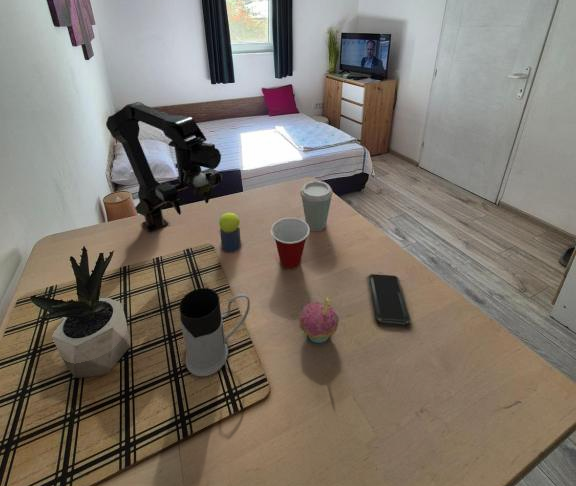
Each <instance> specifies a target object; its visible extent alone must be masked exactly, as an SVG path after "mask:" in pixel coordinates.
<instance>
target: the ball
mask: <svg viewBox="0 0 576 486" xmlns="http://www.w3.org/2000/svg"><path fill="white" fill-rule="evenodd" d="M218 224H219V229H220V228H221V229H222V230H223V231H224V232H227V233H230V232H234V231H236V230H237V228H238V227H239V226H240V219H239V217H238V215H237V214H236V213H234V212H226V213H223V215H221V217H220V218H219V221H218Z"/></svg>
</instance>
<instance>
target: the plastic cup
mask: <svg viewBox="0 0 576 486" xmlns="http://www.w3.org/2000/svg"><path fill="white" fill-rule="evenodd" d="M310 230H311V229H310V228H309V226H308V224H307V223H306V220H303V219H300V218H298V217H292V216H291V217H289V216H288V217H283V218H280V219H279V220H276V221H275V222H274V223H273V224H272V225H271V228H270V233H271V236H272V238H273V239H274V241H275V245H276V249H277V254H278V257H279V262H280V265H281V266H282V267H283V268H285V269H290V270H292V269H295V268H298V267H299V266H300V264H301V261H302V257H303V253H304V248H305V244H306V241H307V238H308V236H309V235H310V232H311V231H310Z"/></svg>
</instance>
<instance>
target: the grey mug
mask: <svg viewBox="0 0 576 486" xmlns="http://www.w3.org/2000/svg"><path fill="white" fill-rule="evenodd" d="M239 298H245V299H246V300H247V305H246V310H245V312H244V314H243V316H242V318H241V319H240V321H239V322H238V323H237V324H236V325H235V326H233V328H232V329H231V330H230V331H229V332H228V333H227V334H226V336H225V330H224V322H223V319H224V318H226V317H228V316H229V315H230V314H231V305H232V304H233V302H234V301H235V300H237V299H239ZM250 308H251V301H250V298H249V296H248V295H247V294H246V293H238V294H235V295H234V296H232V297H231V298H230V300H229V301H228V303H227V312H225V313H222V311H221V302H220V296H219V294H218V292H217V291H215V290H214V289H212V288H208V287H200V288H196V289H195V288H194V289H193V290H191V291H189V292H188V293H186V294H185V295H184V296H183V297H182V298H181V300H180V302H179V306H178V310H179V321H180V326H181V333H182V337H183V343H184V348H185V366H186V369H187V371H189V373H191V374H192V375H195V376H197V377H208V376H211V375H213V374H215V373H218V371H219V370H221V369H222V368H223V366H224V365H225V364H226V362H227V359H228V357H229V356H228V355H229V349H228V346H227V345H228V344H227V341H228V339H229V338H230V337H231V336H232V335H233V334H234V333H235V332H236V331H237V330H238V329H239V328H240V326H242V325H243V323H244V322H245V320H246V319H247V318H248V315H249V312H250Z"/></svg>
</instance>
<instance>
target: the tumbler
mask: <svg viewBox="0 0 576 486" xmlns="http://www.w3.org/2000/svg"><path fill="white" fill-rule="evenodd" d="M219 233H220V243H221V248H222V251H223V252H226V253H235V252H237V251H239V250H240V249H241V247H242V241H241V226H240V225H239V227H238V228H237V230H236V231H234V232H230V233H227V232H224V231H223V230H222V229H221V228H220V227H219Z"/></svg>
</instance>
